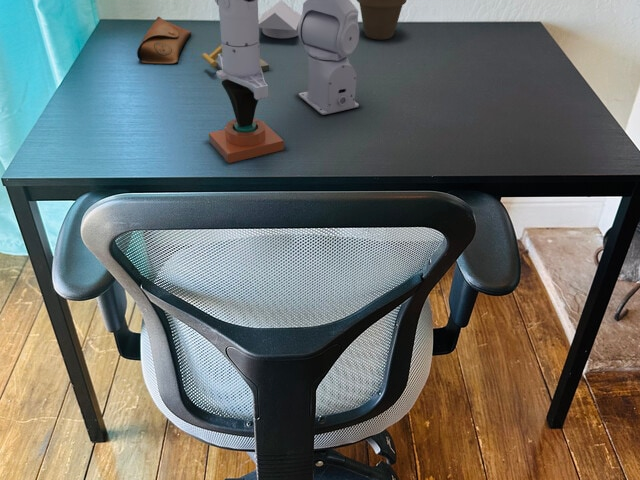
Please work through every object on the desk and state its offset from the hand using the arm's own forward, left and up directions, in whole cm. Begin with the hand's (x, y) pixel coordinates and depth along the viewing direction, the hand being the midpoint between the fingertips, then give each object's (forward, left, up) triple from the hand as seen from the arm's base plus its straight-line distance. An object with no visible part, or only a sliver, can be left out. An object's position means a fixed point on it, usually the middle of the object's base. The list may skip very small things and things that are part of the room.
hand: (245, 124), depth 108 cm
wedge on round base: (+45, -29, -4) cm, 53 cm away
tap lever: (+31, -11, 0) cm, 32 cm away
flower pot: (+35, -49, -4) cm, 60 cm away
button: (0, 0, -2) cm, 2 cm away
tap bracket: (+31, -13, -4) cm, 33 cm away
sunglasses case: (+48, -3, -4) cm, 48 cm away
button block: (0, 0, -4) cm, 4 cm away
